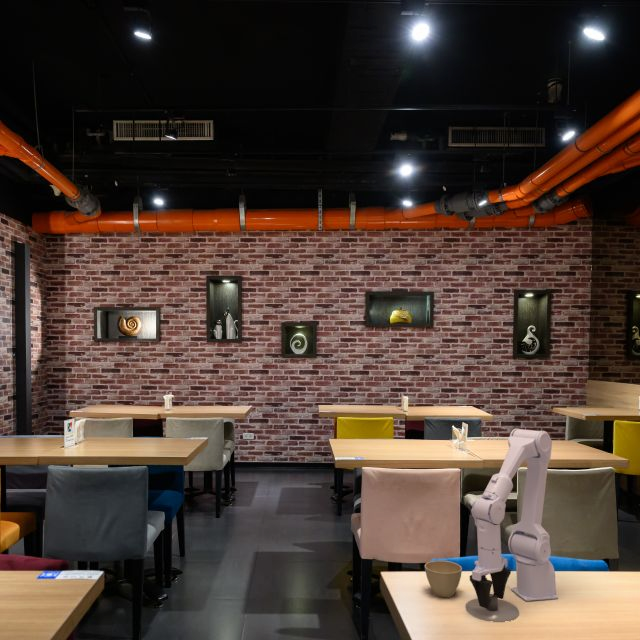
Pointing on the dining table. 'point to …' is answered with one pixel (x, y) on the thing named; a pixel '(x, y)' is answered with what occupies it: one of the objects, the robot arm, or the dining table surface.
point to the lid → (493, 610)
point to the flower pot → (443, 577)
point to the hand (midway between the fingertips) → (491, 602)
